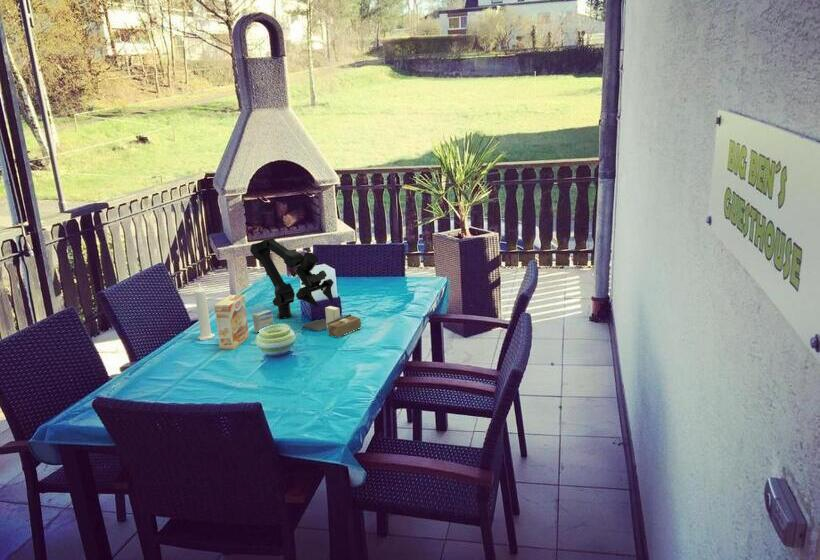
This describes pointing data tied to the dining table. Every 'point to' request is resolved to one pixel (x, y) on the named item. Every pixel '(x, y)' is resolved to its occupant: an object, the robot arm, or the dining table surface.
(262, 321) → the medicine box
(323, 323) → the mat
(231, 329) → the coffeecake box
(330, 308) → the cream pillar
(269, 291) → the dining table surface
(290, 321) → the dining table surface
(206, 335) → the candle
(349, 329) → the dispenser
